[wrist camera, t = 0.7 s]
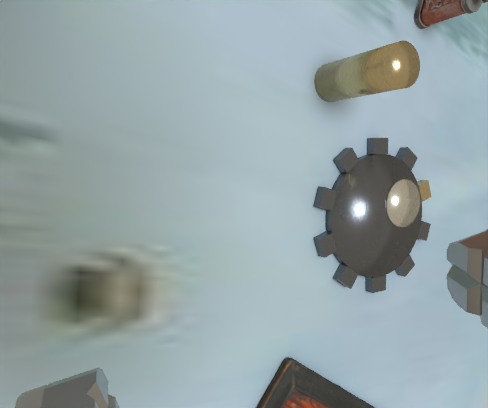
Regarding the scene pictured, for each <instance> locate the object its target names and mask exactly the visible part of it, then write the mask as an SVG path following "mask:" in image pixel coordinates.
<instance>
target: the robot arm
mask: <svg viewBox="0 0 488 408" xmlns="http://www.w3.org/2000/svg"><path fill="white" fill-rule="evenodd" d="M447 260H448V261H449V262H450V263H451V264H452V267H451V269H450V270H449V272H448V274H447V287H448V290H449V292H450V294H451V296H452V298H453V300H454V301H455V302H456V303H457V305H458V306H460V307H461V308H462V309H463V310H465V311H466V312H468V313H472V314H476V315H479V316H480V318H481V322H482V324H483V325H484V326H486V327H487V328H488V229H487V230H486V231H483V232H481V233H478V234H475V235H472V236H469V237H467V238H464V239H461V240H458V241H456V242H453V243H450V244H449V246H448V249H447ZM15 408H119V405H118V403H117V401H116V398H115V397H113V396H111V395H108V380H107V378H106V376H105V374H104V372H103V370H102V369H100V368H96V369H93V370H90V371H87V372H84V373H80V374H77V375H74V376H71V377H68V378H65V379H62V380H59V381H56V382H53V383H50V384H48V385H45V386H42V387H39V388H36V389H33V390H30V391H27V392H24V393H22V394H21V395H20V396H19V397H18V399H17V401H16V405H15Z"/></svg>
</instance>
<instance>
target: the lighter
mask: <svg viewBox="0 0 488 408" xmlns="http://www.w3.org/2000/svg"><path fill="white" fill-rule="evenodd" d="M485 2H488V0H418V2H417V6H416V10H415V14H414V21H415V24H416V25H417V27H418V28H420V29H423V28H427V27H429V26H430V25H431V24H434V23H437V22H440V21H443V20H446V19H449V18H453V17H456V16H459V15H462V14H465V13H468V14H470V13H473V12H476V11H477V10H478V9H479V8H480V6H481V4H482V3H485Z"/></svg>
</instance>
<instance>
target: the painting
mask: <svg viewBox="0 0 488 408" xmlns="http://www.w3.org/2000/svg"><path fill="white" fill-rule="evenodd" d="M257 408H374V407H373V406H371V405H369V404H368V403H366V402H365V401H363V400H361V399H359V398H358V397H356V396H354V395H352V394H351V393H349V392H347V391H346V390H344V389H343V388H341V387H340V386H338V385H336V384H334V383H332V382H330V381H329V380H327V379H325V378H323V377H322V376H320V375H319V374H317V373H316V372H314V371H312V370H310V369H309V368H307V367H305V366H304V365H302V364H301V363H299V362H297V361H296V360H294V359H291V358H286V359H285V360H284V362H283V363H282V365H281V366H280V368H279V370H278V372H277V373H276V375H275V377H274V379H273V381H272V383H271V384H270V386H269V388H268V389H267V391H266V393H265V395H264V396H263V398H262V400H261V402H260V404H259V406H258V407H257Z"/></svg>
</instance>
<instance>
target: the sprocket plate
mask: <svg viewBox="0 0 488 408" xmlns="http://www.w3.org/2000/svg"><path fill="white" fill-rule="evenodd" d="M367 154H370V155H365V156H362V157H360V158H357V156H356V154H355V152H354V150H353V148H345V149H344V150H343V151H342V152H341V153H340V154H339V155H338V156H337V157H336V158H335V159H334V162H335V164H336V166H337V168H338V169H339V171H340V173H341V174H340V175H339V177H338V178H337V180H336V182H335V184H334V186H333V188H332V189H329V188H326V187H318V190H317V194H316V198H315V202H314V206H315V207H318V208H322V209H325V210H326V232H324V233H322V234H320V235H318V236H316V237H314V241H315V245H316V249H317V252H318V256H321V257H327V256H328V255H330V254H332V253H333V254H334V255H335V257H336V258H337V260H338V261H339V262H340V263H341V264H340V265H339V267H338V269H337V271H336V273H335V275H334V277H333V278H334V279H335V280H337V281H338V282H339V283H341V284H342V285H343V286H345V287H348V288H352V286H353V284H354V282H355V280H356V278H357V276H358V274H359V275H362V276H366V291H368V292H371V293H374V292H379V291H383V290H386V274H388V273H390V272H392V271H393V270H396V272H397V274H398V275H401V276H404V277H405V276H406V275H407V274H408V273H409V271H410V270H411V269H412V268H413V267H414V265H415V264H414V262H413V260H412V258H411V257H410V255H409V253H410V252H411V250H412V248H413V246H414V244H415V242H416V239H421V240H426V241H427V237H428V232H429V228H430V224H429V223H426V222H423V221H421V217H422V202H423V201H424V200H426V199H428V198H430V197H431V192H430V187H429V182H428V180H420V181H418V182H417V181H416V179H415V177H414V175H413V173H412V172H411V170H412V168H413V166H414V164H415V162H416V160H417V157H416V156H415V155H414V154H413V152H412V151H411V150H410V149H409V148H408V147H405V148H400V150H399V152H398V154H397V155H396V157H394V156H391V155H387V154H388V138H367Z"/></svg>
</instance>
